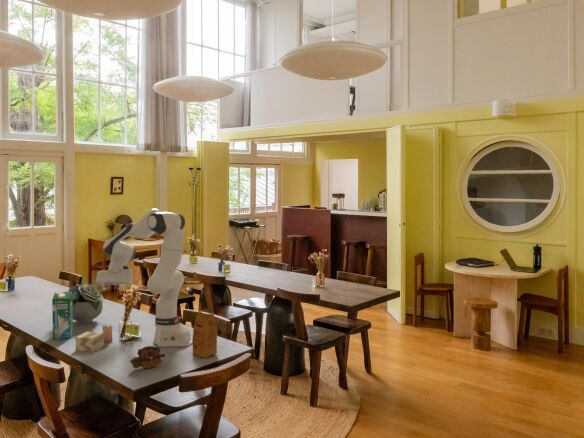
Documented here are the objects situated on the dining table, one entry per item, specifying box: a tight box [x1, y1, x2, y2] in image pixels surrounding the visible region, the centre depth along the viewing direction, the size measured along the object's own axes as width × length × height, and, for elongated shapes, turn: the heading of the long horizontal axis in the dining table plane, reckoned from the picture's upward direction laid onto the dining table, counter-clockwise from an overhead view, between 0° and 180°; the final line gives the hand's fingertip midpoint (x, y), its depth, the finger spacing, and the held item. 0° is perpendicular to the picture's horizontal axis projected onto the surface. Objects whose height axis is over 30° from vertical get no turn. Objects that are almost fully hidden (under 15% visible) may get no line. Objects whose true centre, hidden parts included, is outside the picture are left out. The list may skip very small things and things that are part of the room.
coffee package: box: [191, 310, 218, 359], centre depth 257 cm, size 10×12×22 cm
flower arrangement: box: [66, 283, 105, 325], centre depth 311 cm, size 25×25×24 cm
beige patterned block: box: [75, 331, 105, 353], centre depth 264 cm, size 10×10×7 cm
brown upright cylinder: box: [102, 324, 113, 344], centre depth 275 cm, size 5×5×9 cm
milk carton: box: [51, 291, 74, 340], centre depth 282 cm, size 9×9×25 cm
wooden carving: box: [129, 345, 166, 369], centre depth 238 cm, size 16×5×10 cm, turn 126°
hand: (112, 290), depth 285 cm, fingers open, 8 cm apart
